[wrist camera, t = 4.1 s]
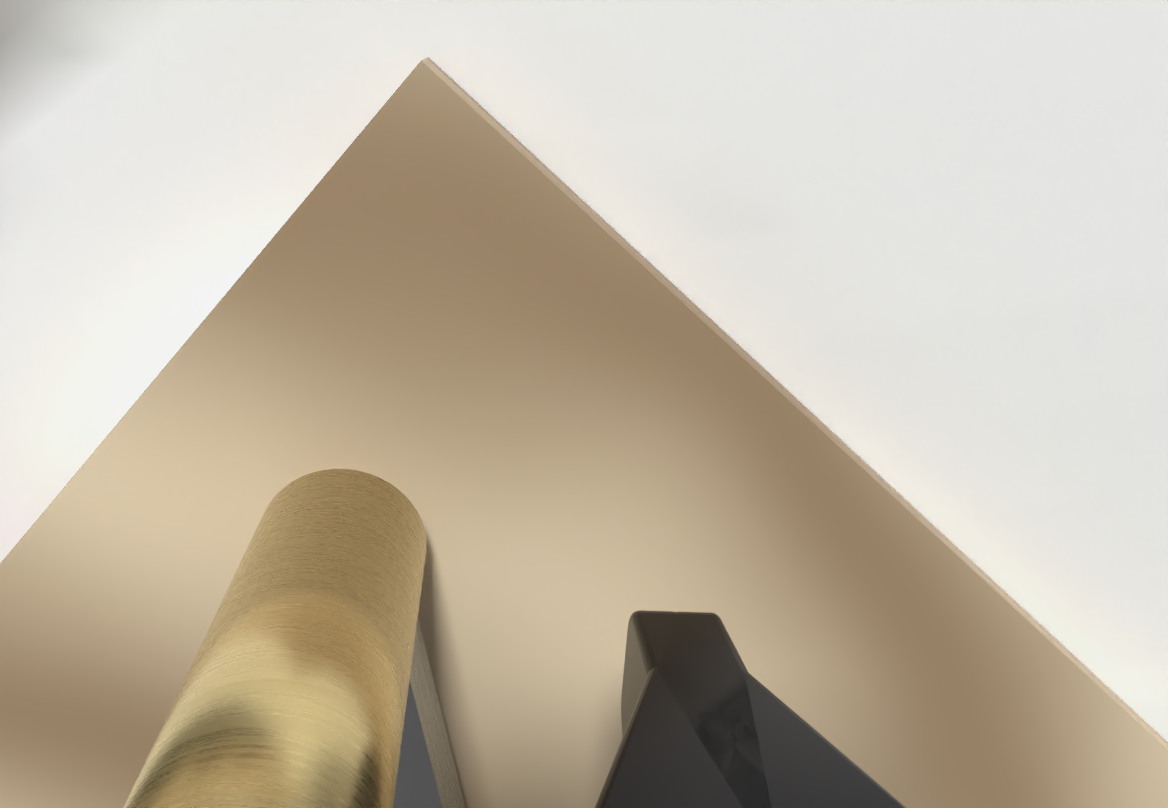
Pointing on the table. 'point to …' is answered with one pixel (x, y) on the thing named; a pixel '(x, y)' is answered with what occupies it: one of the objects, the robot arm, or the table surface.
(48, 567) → the stand
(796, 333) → the table surface
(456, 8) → the table surface
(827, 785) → the robot arm
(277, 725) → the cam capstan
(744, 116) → the table surface
